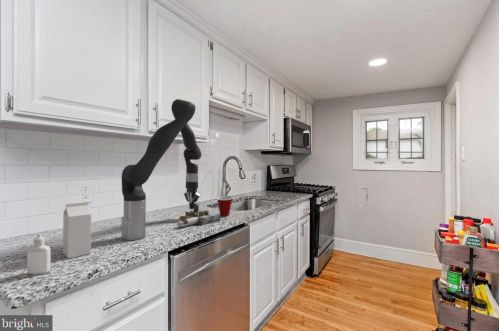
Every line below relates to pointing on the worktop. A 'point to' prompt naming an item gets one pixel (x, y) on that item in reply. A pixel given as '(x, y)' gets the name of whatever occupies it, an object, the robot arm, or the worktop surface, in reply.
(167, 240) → the worktop surface
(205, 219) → the lock plate
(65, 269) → the worktop surface
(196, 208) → the bolt
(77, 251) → the milk carton
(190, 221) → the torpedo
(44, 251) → the eye dropper bottle
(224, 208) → the plastic cup
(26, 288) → the worktop surface
